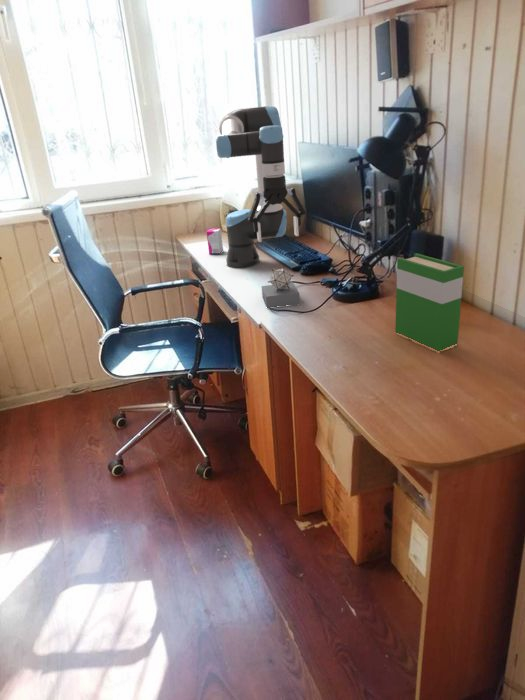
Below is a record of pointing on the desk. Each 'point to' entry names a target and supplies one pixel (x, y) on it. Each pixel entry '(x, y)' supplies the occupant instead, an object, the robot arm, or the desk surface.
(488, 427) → the desk surface
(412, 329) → the hardback book
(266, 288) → the base block
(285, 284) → the game die
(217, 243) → the supplement box
